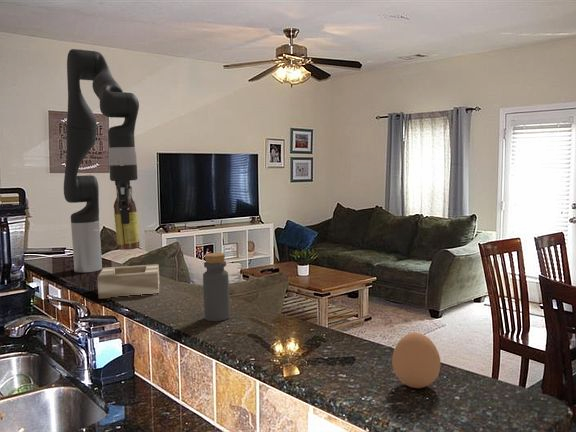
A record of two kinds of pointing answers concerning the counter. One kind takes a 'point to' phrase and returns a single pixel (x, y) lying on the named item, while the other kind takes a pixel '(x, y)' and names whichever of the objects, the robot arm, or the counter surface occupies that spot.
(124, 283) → the dock block
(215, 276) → the bottle
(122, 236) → the sauce bottle
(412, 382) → the egg
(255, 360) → the counter surface
